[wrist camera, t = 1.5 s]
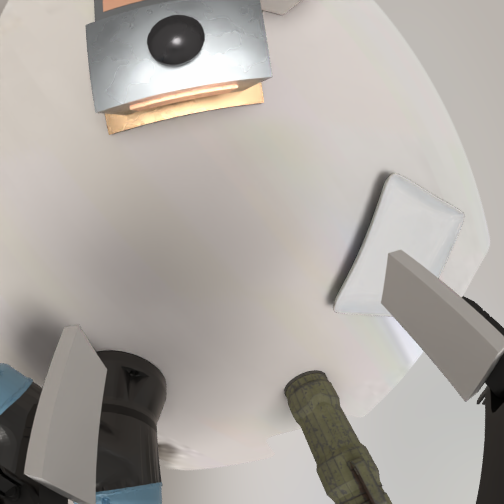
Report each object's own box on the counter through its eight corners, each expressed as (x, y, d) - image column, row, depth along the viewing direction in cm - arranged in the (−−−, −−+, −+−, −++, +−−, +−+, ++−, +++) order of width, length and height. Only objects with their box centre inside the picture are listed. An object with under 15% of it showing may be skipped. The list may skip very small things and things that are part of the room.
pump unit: (111, 134, 25) (68, 144, 14) (98, 49, 20) (55, 16, 10) (261, 102, 27) (308, 94, 17) (248, 20, 22) (286, -27, 12)
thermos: (328, 359, 48) (421, 520, 17) (324, 393, 53) (395, 528, 23) (282, 374, 47) (361, 552, 16) (284, 406, 52) (346, 551, 22)
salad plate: (377, 165, 34) (393, 170, 31) (454, 208, 41) (468, 215, 38) (321, 301, 41) (331, 314, 38) (407, 308, 48) (417, 318, 45)
